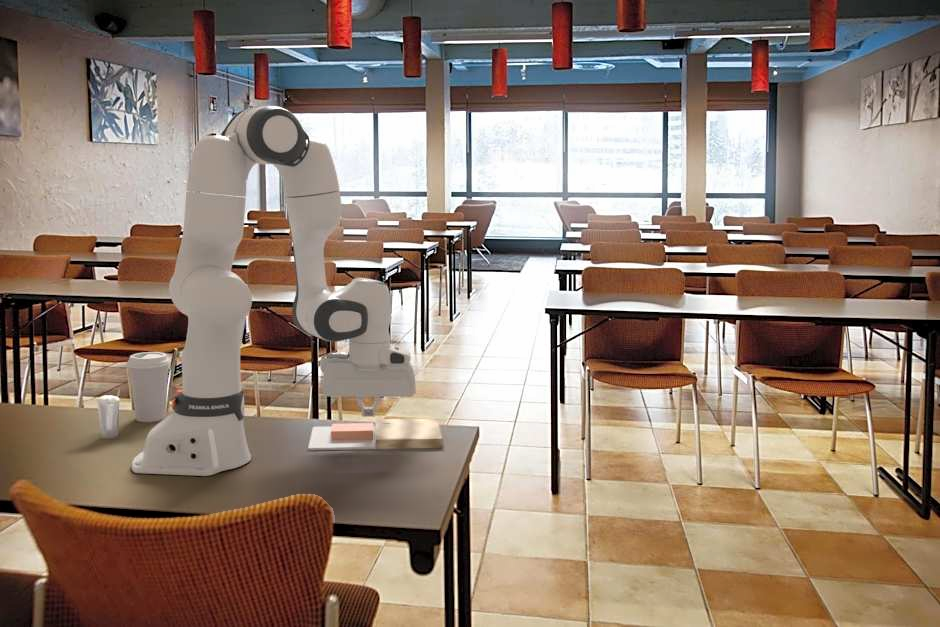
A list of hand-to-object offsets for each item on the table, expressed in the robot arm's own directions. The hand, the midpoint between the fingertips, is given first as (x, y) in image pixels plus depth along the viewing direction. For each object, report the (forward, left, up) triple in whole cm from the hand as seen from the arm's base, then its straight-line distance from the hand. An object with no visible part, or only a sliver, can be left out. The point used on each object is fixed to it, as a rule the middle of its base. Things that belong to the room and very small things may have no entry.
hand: (368, 416), depth 197 cm
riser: (+9, 0, -5) cm, 10 cm away
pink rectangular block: (-3, +1, -5) cm, 6 cm away
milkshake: (-55, +5, -5) cm, 56 cm away
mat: (-5, 0, -5) cm, 8 cm away
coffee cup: (-50, +19, -5) cm, 54 cm away
